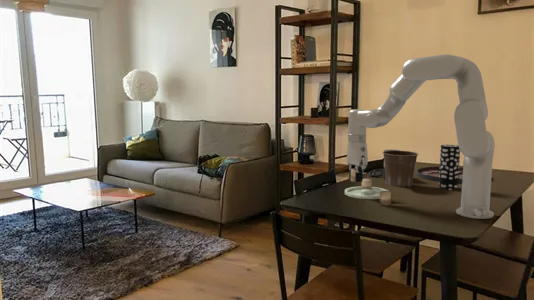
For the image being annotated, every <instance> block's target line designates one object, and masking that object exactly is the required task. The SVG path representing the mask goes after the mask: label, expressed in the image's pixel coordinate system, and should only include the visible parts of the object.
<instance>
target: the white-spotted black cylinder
mask: <svg viewBox="0 0 534 300" xmlns="http://www.w3.org/2000/svg"><path fill="white" fill-rule="evenodd" d="M460 155H461V151H460V149H459V146H458V144H442V145H440V157H439V167H440V174H439V181H438V189H440V190H446V191H457V190H459V183H458V181H459V167H460V162H461V161H460V160H461V159H460V158H461V156H460Z"/></svg>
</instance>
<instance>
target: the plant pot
mask: <svg viewBox="0 0 534 300" xmlns="http://www.w3.org/2000/svg"><path fill="white" fill-rule="evenodd" d="M382 154H383V162H384V161H385V178H386V179H385V184H386V185H388V186H392V187H409V188H411V187H413V181H414V173H415V166H416V163H417V160H418V159H417V157H418V156H419V153H418V152H416V151H409V150H400V151H384V150H383V151H382Z"/></svg>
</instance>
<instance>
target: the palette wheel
mask: <svg viewBox="0 0 534 300" xmlns="http://www.w3.org/2000/svg"><path fill="white" fill-rule="evenodd" d="M439 174H440V166H427V167H421V168H418V169H417V171H416V175H417V176H418V177H420V178H422V179H425V180H430V181H436V182H439ZM462 175H463V167H460V166H459V181H458V184H462Z"/></svg>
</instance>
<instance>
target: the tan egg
mask: <svg viewBox="0 0 534 300" xmlns="http://www.w3.org/2000/svg"><path fill="white" fill-rule="evenodd" d="M356 173H357V171H356V169H351V180H350V182H353V183H356V182H355V176H356Z"/></svg>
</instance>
